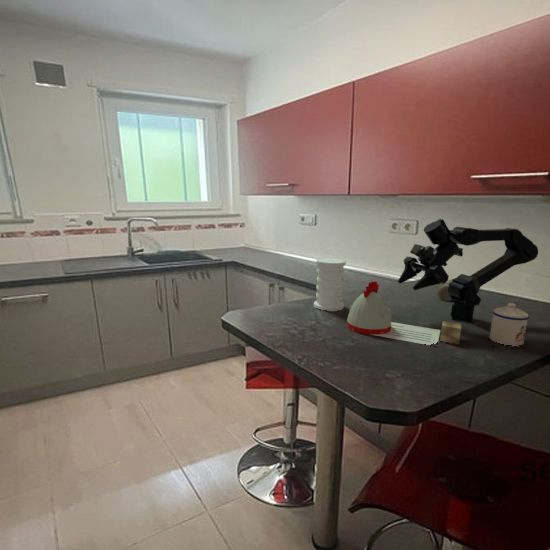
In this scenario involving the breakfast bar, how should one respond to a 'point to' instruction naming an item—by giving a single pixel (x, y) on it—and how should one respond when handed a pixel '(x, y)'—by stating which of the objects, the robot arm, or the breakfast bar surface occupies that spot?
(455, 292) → the robot arm
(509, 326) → the teacup with lid
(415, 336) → the letter
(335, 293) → the decorative container
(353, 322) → the kitchen timer
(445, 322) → the block
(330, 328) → the breakfast bar surface
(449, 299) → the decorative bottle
